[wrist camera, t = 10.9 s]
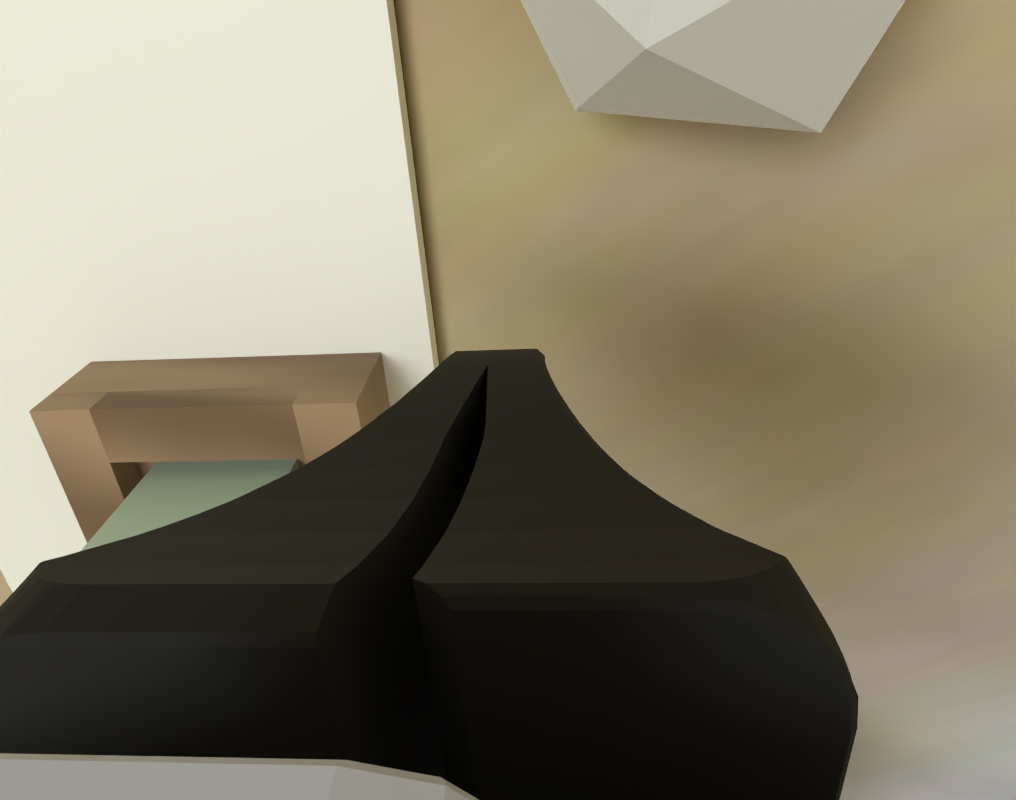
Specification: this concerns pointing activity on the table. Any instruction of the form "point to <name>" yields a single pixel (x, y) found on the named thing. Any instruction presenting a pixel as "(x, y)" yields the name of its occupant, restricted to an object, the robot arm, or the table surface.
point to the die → (711, 56)
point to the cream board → (195, 206)
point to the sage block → (186, 493)
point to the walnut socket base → (199, 417)
